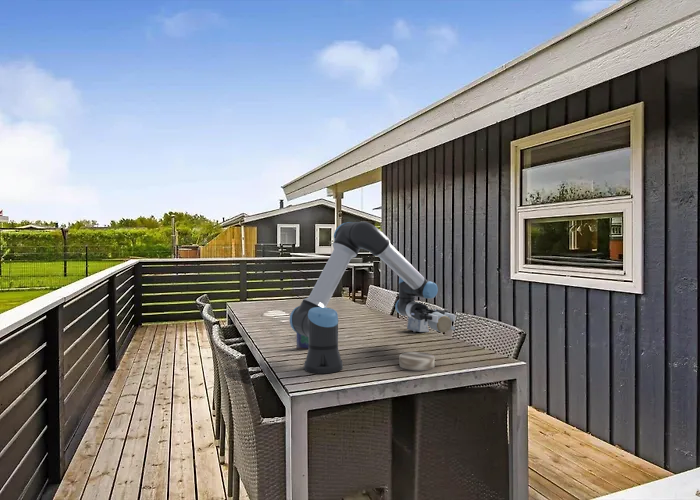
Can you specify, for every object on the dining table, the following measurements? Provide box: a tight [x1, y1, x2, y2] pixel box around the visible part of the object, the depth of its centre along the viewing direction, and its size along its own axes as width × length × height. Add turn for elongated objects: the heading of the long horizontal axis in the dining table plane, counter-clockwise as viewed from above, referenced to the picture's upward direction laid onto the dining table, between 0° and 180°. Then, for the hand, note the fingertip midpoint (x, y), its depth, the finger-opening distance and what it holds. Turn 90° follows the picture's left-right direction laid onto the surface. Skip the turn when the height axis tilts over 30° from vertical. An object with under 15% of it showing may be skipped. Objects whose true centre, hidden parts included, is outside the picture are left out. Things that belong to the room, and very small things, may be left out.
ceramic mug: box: [428, 312, 456, 333], centre depth 199 cm, size 11×8×8 cm
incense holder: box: [406, 316, 430, 333], centre depth 257 cm, size 10×8×10 cm
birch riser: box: [398, 351, 436, 371], centre depth 189 cm, size 14×14×4 cm
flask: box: [295, 332, 309, 350], centre depth 219 cm, size 9×3×11 cm, turn 80°
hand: (445, 318), depth 194 cm, fingers closed on ceramic mug, 7 cm apart
